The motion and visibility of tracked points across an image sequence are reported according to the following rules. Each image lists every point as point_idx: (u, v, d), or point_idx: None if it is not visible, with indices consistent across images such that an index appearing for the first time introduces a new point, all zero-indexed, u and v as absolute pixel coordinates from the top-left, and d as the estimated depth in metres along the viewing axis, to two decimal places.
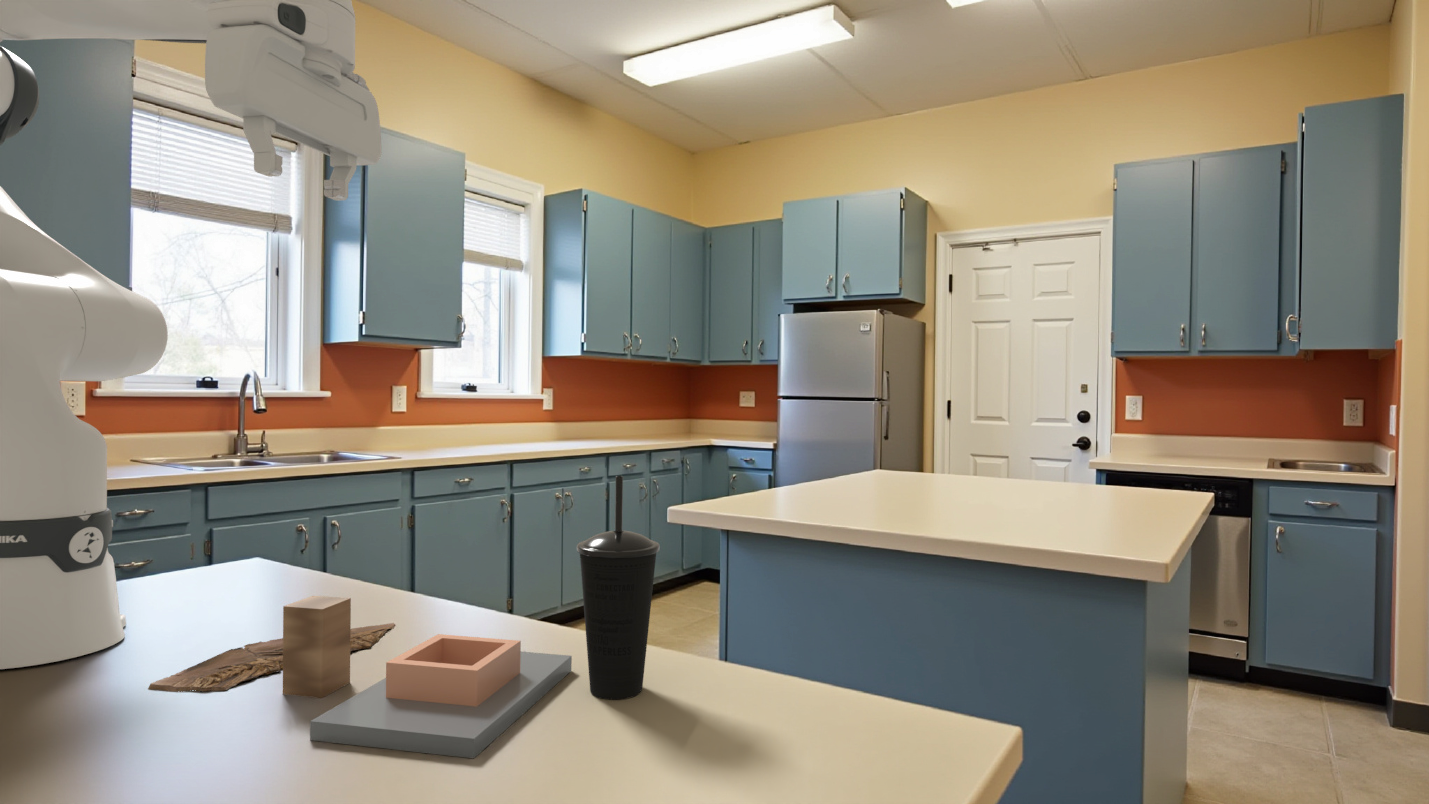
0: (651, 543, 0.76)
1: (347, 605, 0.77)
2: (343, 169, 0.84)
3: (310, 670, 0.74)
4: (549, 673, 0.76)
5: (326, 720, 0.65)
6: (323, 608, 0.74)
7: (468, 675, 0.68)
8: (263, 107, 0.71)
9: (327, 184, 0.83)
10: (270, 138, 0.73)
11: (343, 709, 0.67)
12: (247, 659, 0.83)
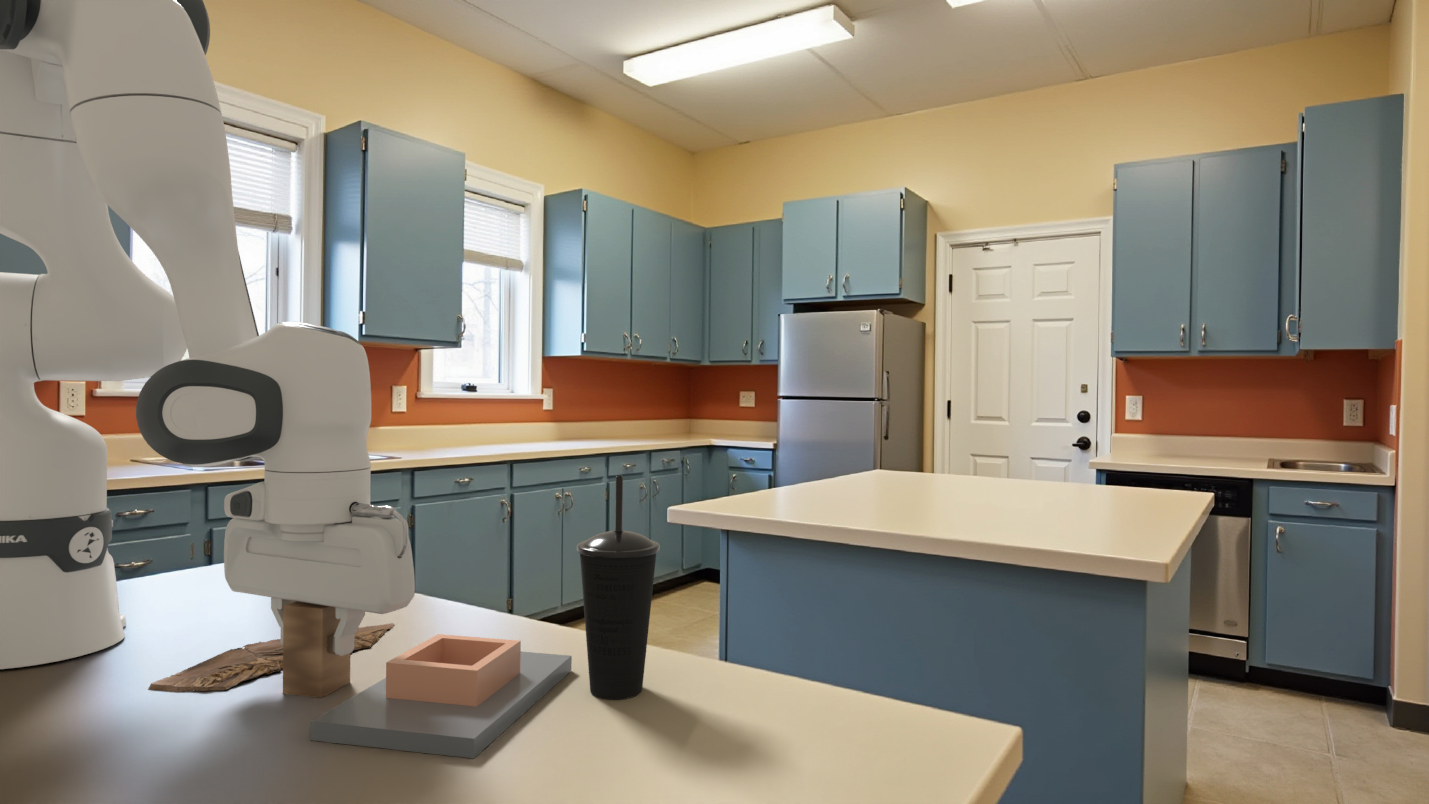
0: (651, 543, 0.76)
1: None
2: None
3: (310, 670, 0.74)
4: (549, 673, 0.76)
5: (326, 720, 0.65)
6: (323, 608, 0.74)
7: (468, 675, 0.68)
8: (243, 590, 0.77)
9: None
10: (278, 614, 0.76)
11: (343, 709, 0.67)
12: (247, 658, 0.83)
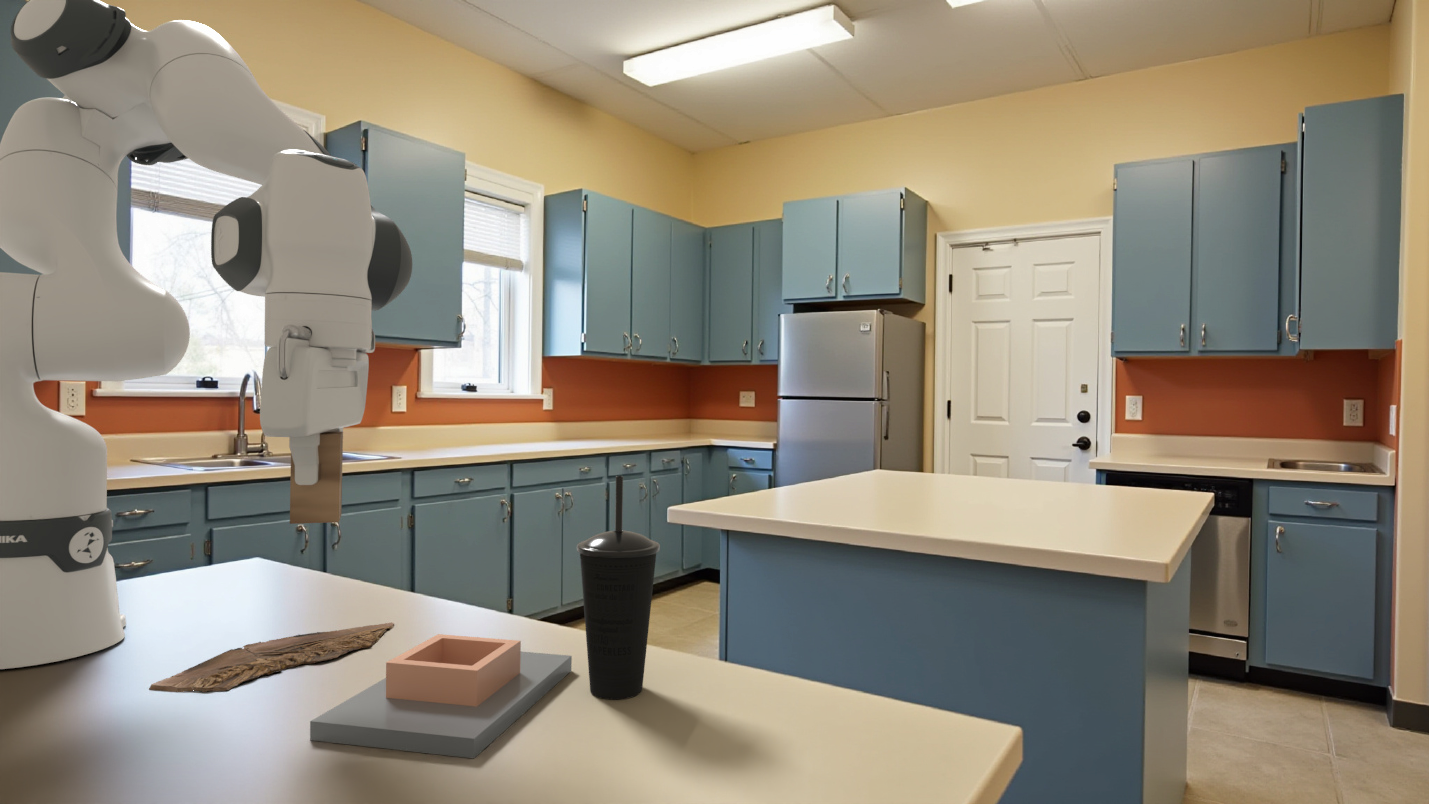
0: (651, 543, 0.76)
1: (334, 440, 0.74)
2: None
3: None
4: (549, 673, 0.76)
5: (326, 720, 0.65)
6: None
7: (468, 675, 0.68)
8: None
9: None
10: None
11: (343, 709, 0.67)
12: (247, 659, 0.83)
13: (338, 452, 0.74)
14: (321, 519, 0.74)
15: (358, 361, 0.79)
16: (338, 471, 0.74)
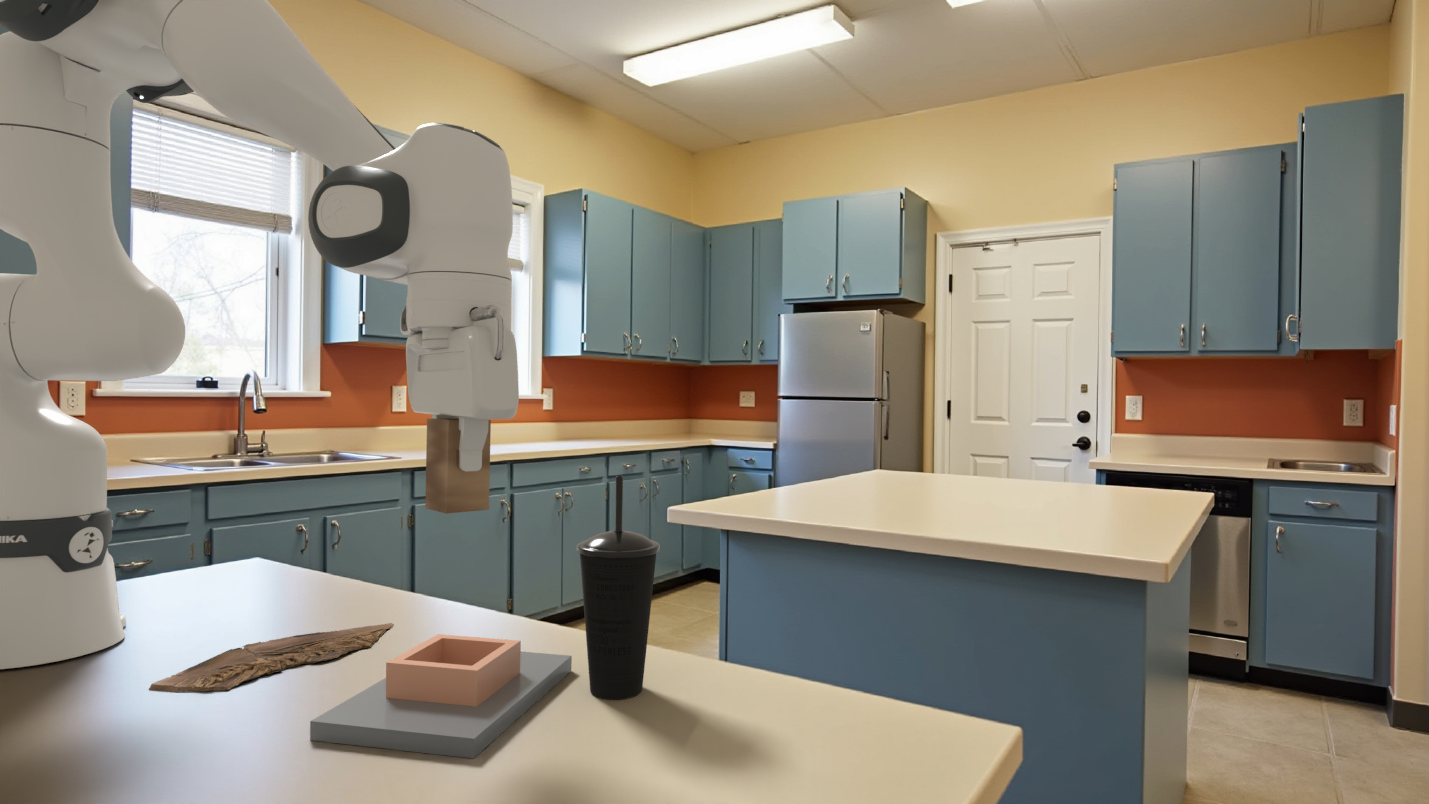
0: (651, 543, 0.76)
1: None
2: None
3: (440, 484, 0.71)
4: (549, 673, 0.76)
5: (326, 720, 0.65)
6: (451, 420, 0.70)
7: (468, 675, 0.68)
8: (416, 408, 0.78)
9: None
10: None
11: (343, 709, 0.67)
12: (247, 659, 0.82)
13: (488, 438, 0.73)
14: (474, 507, 0.72)
15: None
16: (488, 457, 0.73)
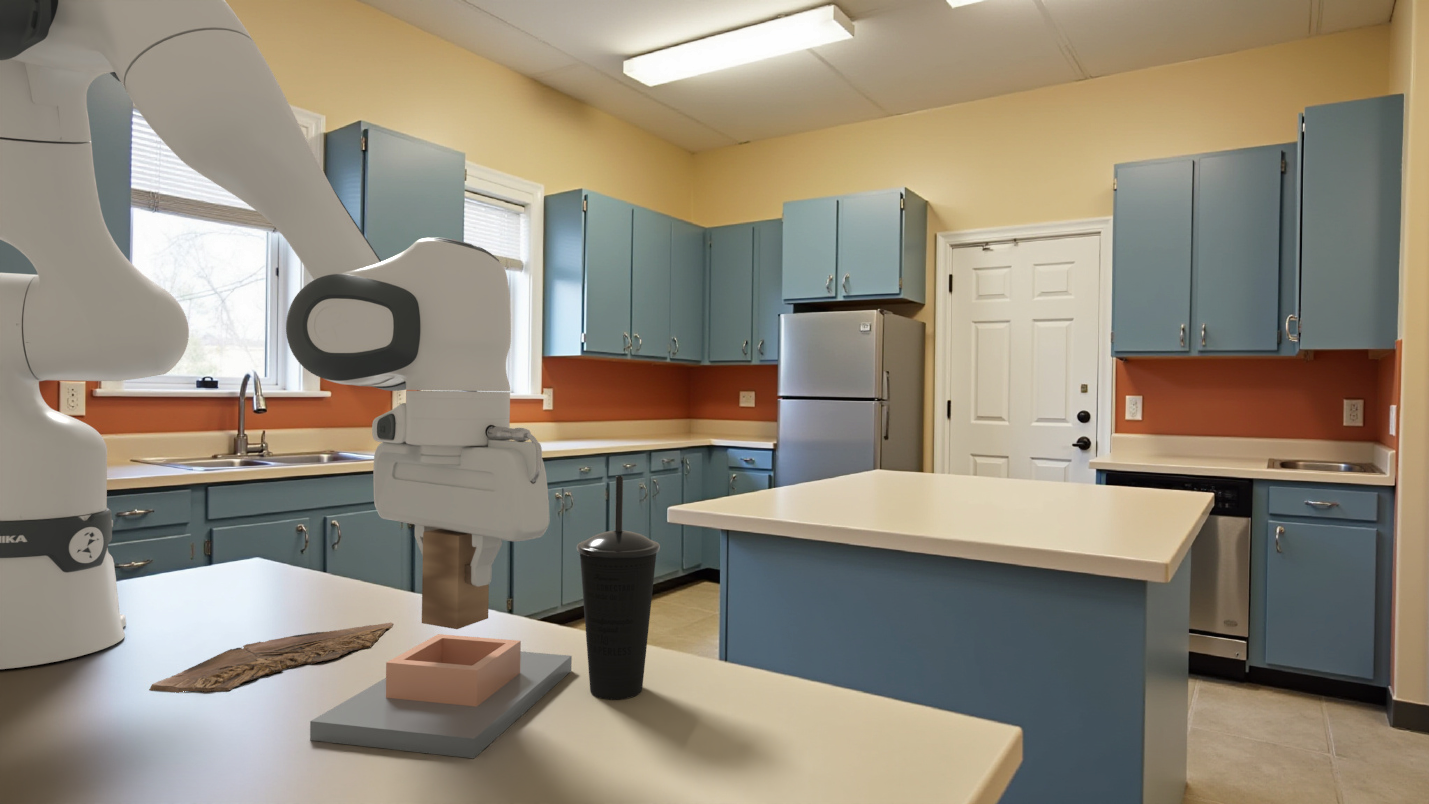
0: (651, 543, 0.76)
1: None
2: None
3: (447, 599, 0.71)
4: (549, 673, 0.76)
5: (326, 720, 0.65)
6: (460, 535, 0.70)
7: (468, 675, 0.68)
8: (390, 516, 0.76)
9: None
10: (421, 542, 0.74)
11: (343, 709, 0.67)
12: (247, 659, 0.82)
13: None
14: (477, 618, 0.72)
15: None
16: None
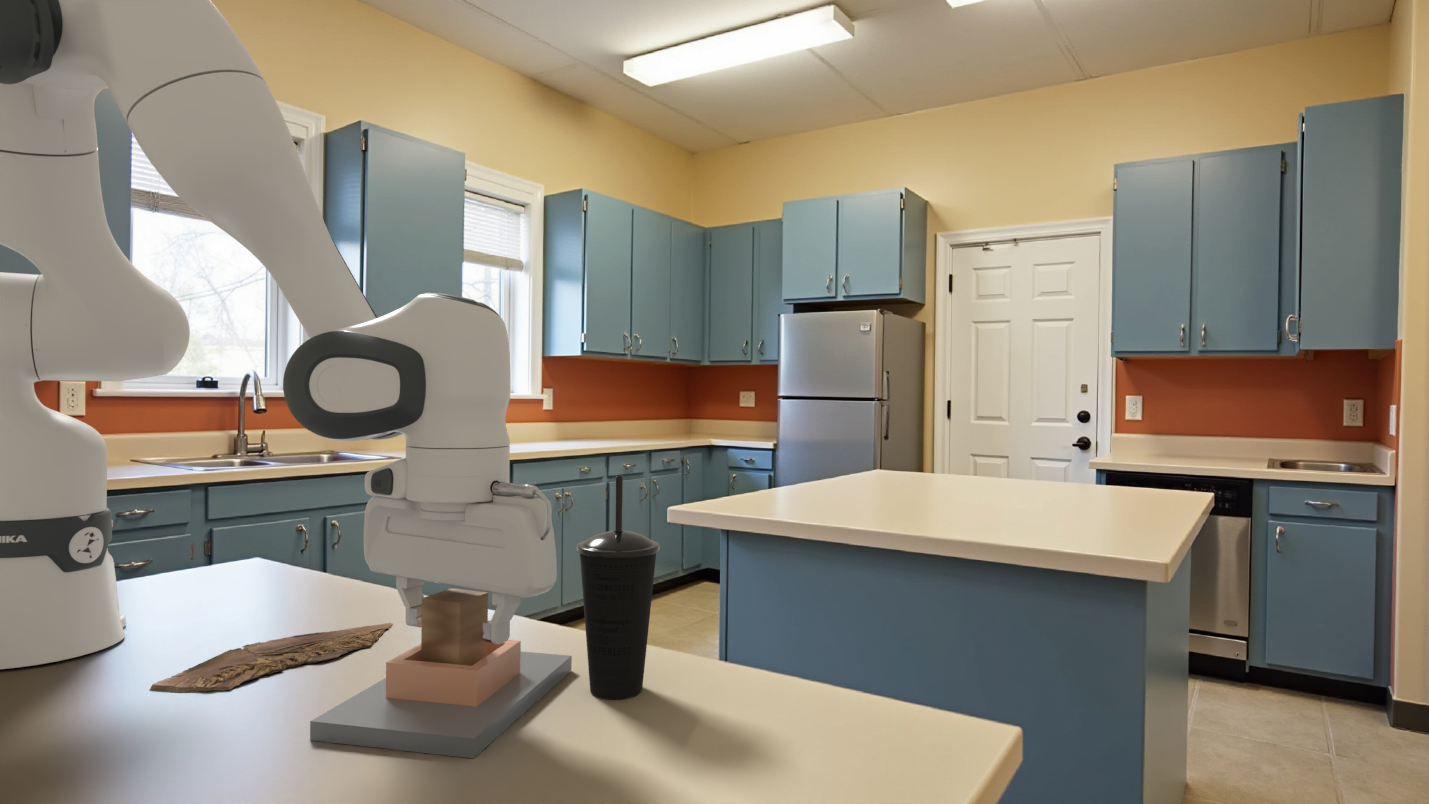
0: (651, 543, 0.76)
1: (484, 600, 0.74)
2: None
3: None
4: (549, 673, 0.76)
5: (326, 720, 0.65)
6: (460, 602, 0.71)
7: (468, 675, 0.68)
8: (383, 570, 0.75)
9: None
10: (403, 594, 0.75)
11: (343, 709, 0.67)
12: (247, 659, 0.82)
13: (486, 610, 0.74)
14: None
15: None
16: None
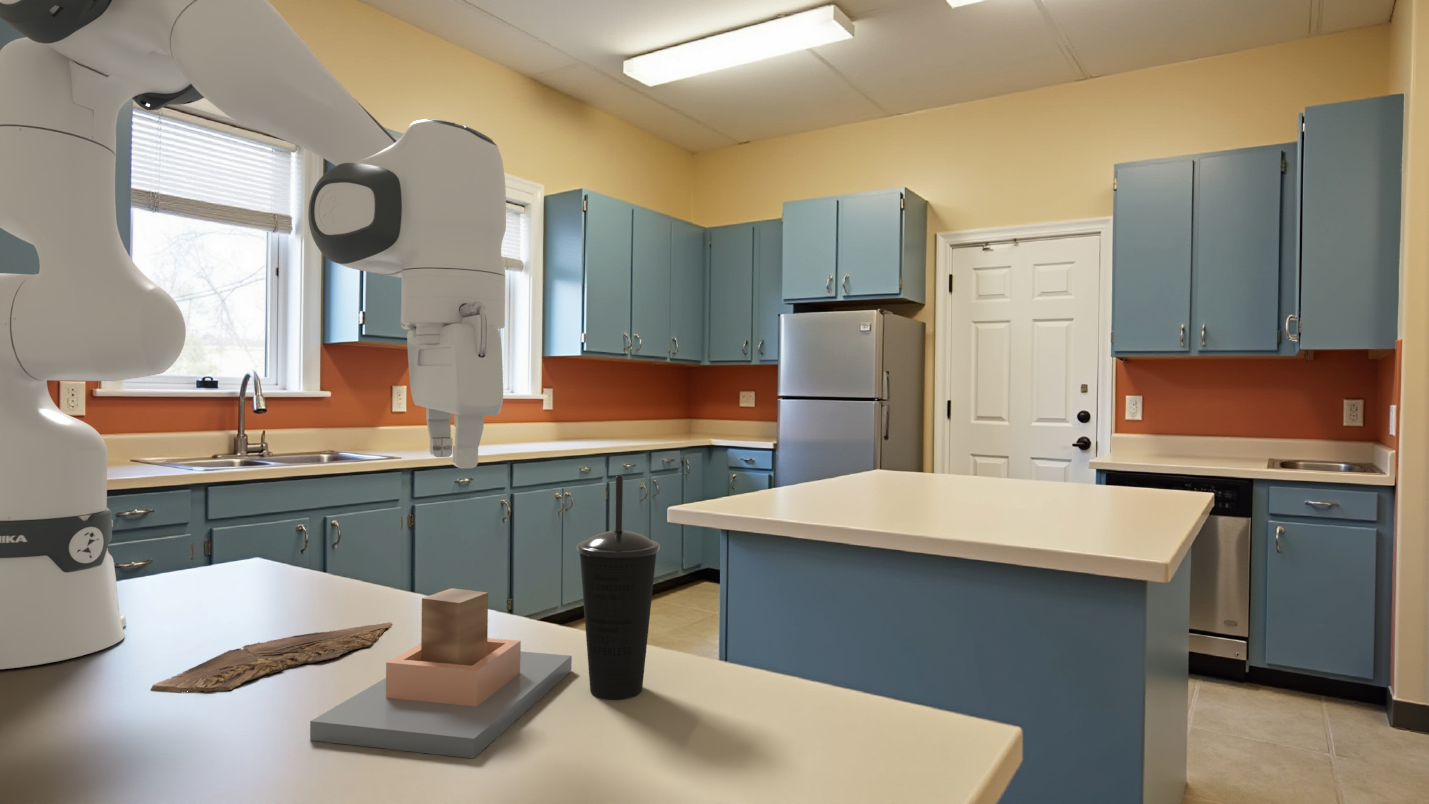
0: (651, 543, 0.76)
1: (484, 600, 0.74)
2: None
3: None
4: (549, 673, 0.76)
5: (326, 720, 0.65)
6: (460, 602, 0.71)
7: (468, 675, 0.68)
8: (416, 402, 0.79)
9: None
10: (428, 424, 0.78)
11: (343, 709, 0.67)
12: (247, 659, 0.82)
13: (486, 610, 0.74)
14: None
15: None
16: (486, 629, 0.74)
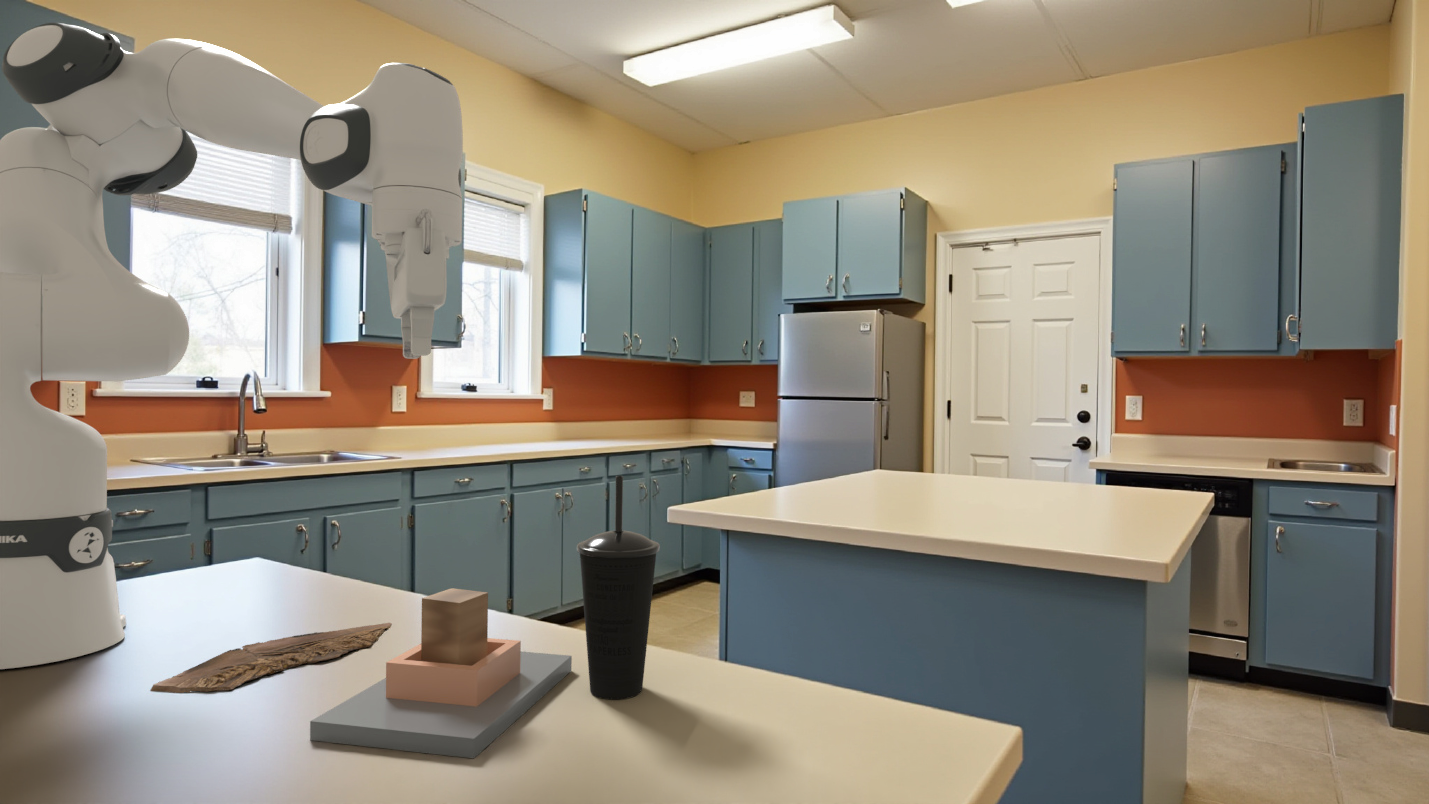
0: (651, 543, 0.76)
1: (484, 600, 0.74)
2: None
3: None
4: (549, 673, 0.76)
5: (326, 720, 0.65)
6: (460, 602, 0.71)
7: (468, 675, 0.68)
8: (393, 313, 0.91)
9: None
10: (402, 331, 0.90)
11: (343, 709, 0.67)
12: (248, 659, 0.82)
13: (486, 610, 0.74)
14: None
15: None
16: (486, 629, 0.74)
